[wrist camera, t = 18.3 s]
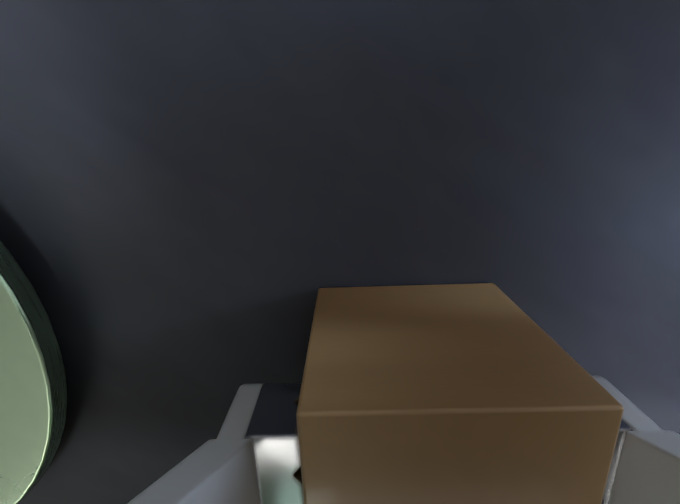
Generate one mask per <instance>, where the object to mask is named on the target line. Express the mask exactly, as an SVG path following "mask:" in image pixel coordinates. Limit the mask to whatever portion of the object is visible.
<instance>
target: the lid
mask: <svg viewBox="0 0 680 504" xmlns="http://www.w3.org/2000/svg"><path fill="white" fill-rule="evenodd" d="M67 398H68V397H67V385H66V373H65V368H64V363H63V359H62V355H61V351H60V346H59V343H58V340H57V337H56V335H55V332H54V330H53V327H52V324H51V322H50V319H49V317H48V314H47V312H46V310H45V308H44V306H43V304H42V303H41V301H40V299H39V297H38V295H37V293H36V291H35V289H34V287H33V286H32V284H31V282H30V281H29V279H28V278H27V276H26V275H25V273H24V272H23V270H22V269H21V267H20V266H19V265H18V263H17V262H16V260H15V259H14V257H13V256H12V254H11V253H10V252H9V250H8V249H7V248H6V247H5V246H4V244H3V243H2V242H1V241H0V504H17V503H19V502H20V501H21V500H22V499H23V498H24V497H25V496H26V495H27V493H28V492H29V491H30V490H31V489H32V488H33V487H34V486H35V485H36V483H37V482H38V481H39V480H40V478H41V477H42V475H43V474H44V473H45V471H46V470H47V469H48V467H49V466H50V464H51V462H52V460H53V458H54V455H55V453H56V451H57V449H58V447H59V445H60V441H61V437H62V434H63V430H64V426H65V422H66V411H67Z"/></svg>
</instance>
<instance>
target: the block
mask: <svg viewBox="0 0 680 504" xmlns="http://www.w3.org/2000/svg"><path fill="white" fill-rule="evenodd" d="M623 412H624V408H623V406H622V404H621V403H619V402H618V401H617V400H616V399H615V398H614V397H613V396H612V395H611V394H610V393H609V392H608V391H607V390H606V389H605V388H604V387H603V386H602V385H600V384H599V383H598V382H597V381H596V380H595V379H594V378H593V377H592V376H591V375H590V374H589V373H588V372H587V371H586V370H585V369H584V368H582V367H581V366H580V365H579V364H578V363H577V362H576V361H575V360H574V359H573V358H572V357H571V356H570V355H569V354H568V353H567V352H566V351H565V350H563V349H562V348H561V347H560V346H559V345H558V344H557V343H556V342H555V341H554V340H553V339H552V338H551V337H550V336H549V335H548V334H547V333H546V332H544V331H543V330H542V329H541V328H540V327H539V326H538V325H537V324H536V323H535V322H534V321H533V320H532V319H531V318H530V317H529V316H528V315H527V314H525V313H524V312H523V311H522V310H521V309H520V308H519V307H518V306H517V305H516V304H515V303H514V302H513V301H512V300H511V299H510V298H509V297H508V296H506V295H505V294H504V293H503V292H502V291H501V290H500V289H499V288H498V287H497V286H496V285H495V284H493V283H478V284H443V285H408V286H373V287H338V288H319V289H318V294H317V299H316V305H315V311H314V316H313V322H312V328H311V333H310V339H309V345H308V350H307V356H306V362H305V367H304V373H303V379H302V384H301V390H300V396H299V402H298V407H297V413H296V418H297V429H298V441H299V452H300V464H301V475H302V487H303V498H304V504H601V503H602V499H603V495H604V491H605V487H606V483H607V478H608V474H609V470H610V466H611V462H612V458H613V453H614V449H615V445H616V441H617V437H618V433H619V429H620V424H621V420H622V416H623Z"/></svg>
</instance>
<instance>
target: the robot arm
mask: <svg viewBox="0 0 680 504" xmlns="http://www.w3.org/2000/svg"><path fill="white" fill-rule="evenodd" d="M592 377H593V378H594V379H595V380H596V381H597V382H598V383H599V384H600V385H602V386H603V387H604V388H605V389H606V390H607V391H608V392H609V393H610V394H611V395H612V396H613V397H614V398H615V399H616V400H617V401H618V402H619V403H621V404H622V406H623V408H624V412H623V416H622V420H621V424H620V429H619V433H618V437H617V441H616V445H615V449H614V453H613V458H612V462H611V466H610V470H609V474H608V478H607V483H606V487H605V491H604V495H603V499H602V503H601V504H680V434H678V433H676V432H674V431H672V430H664V431H663V430H662V429H661V428H660V427H659V426H658V425H657V424H655V423H654V422H653V421H652V420H651V419H650V418H649V417H648V416H647V415H645V414H644V413H643V412H642V411H641V410H640V409H639V408H638V407H637V406H635V405H634V404H633V403H632V402H631V401H630V400H629V399H628V398H627V397H625V396H624V395H623V394H622V393H621V392H620V391H619V390H618V389H616V388H615V387H614V386H613V385H612V384H611V383H610V382H609V381H608V380H606V379H605V378H603V377H600V376H592ZM301 384H302V383H265V384H242V385H241V386H240V387H239V388H238V390H237V392H236V395H235V397H234V399H233V402H232V404H231V406H230V409H229V411H228V413H227V416H226V418H225V420H224V422H223V425H222V427H221V429H220V432H219V434H218V436H217V439H209V440H208V441H207V442H205V443H204V444H203V445H201V446H200V447H199V448H198V449H196V450H195V451H194V452H192V453H191V454H190V455H189V456H187V457H186V458H185V459H183V460H182V461H181V462H180V463H178V464H177V465H176V466H174V467H173V468H172V469H171V470H169V471H168V472H167V473H165V474H164V475H163V476H162V477H160V478H159V479H158V480H156V481H155V482H154V483H153V484H151V485H150V486H149V487H147V488H146V489H145V490H144V491H142V492H141V493H140V494H138V495H137V496H136V497H135V498H133V499H132V500H131V501H129V502H128V503H127V504H304V498H303V487H302V475H301V464H300V452H299V441H298V429H297V418H296V413H297V407H298V402H299V396H300V390H301Z"/></svg>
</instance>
